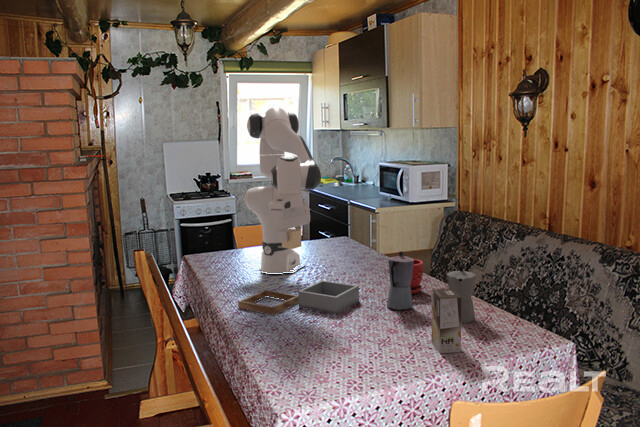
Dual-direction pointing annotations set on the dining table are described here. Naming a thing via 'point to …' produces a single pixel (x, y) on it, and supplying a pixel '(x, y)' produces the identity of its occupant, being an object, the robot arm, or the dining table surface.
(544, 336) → the dining table surface
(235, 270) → the dining table surface
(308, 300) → the bin
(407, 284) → the moka pot
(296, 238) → the tan block
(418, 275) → the plant pot
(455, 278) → the coffeepot
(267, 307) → the frame
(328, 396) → the dining table surface
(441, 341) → the coffee box
